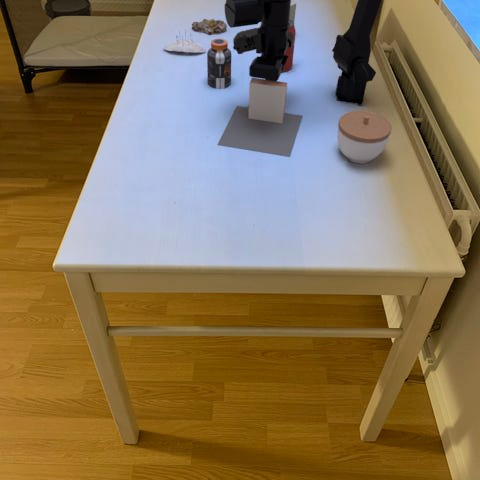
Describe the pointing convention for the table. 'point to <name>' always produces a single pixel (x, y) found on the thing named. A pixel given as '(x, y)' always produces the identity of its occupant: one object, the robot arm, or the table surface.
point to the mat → (260, 133)
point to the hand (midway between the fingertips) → (270, 89)
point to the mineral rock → (209, 26)
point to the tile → (267, 100)
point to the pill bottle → (219, 64)
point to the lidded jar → (362, 135)
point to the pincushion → (185, 46)
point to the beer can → (290, 51)
